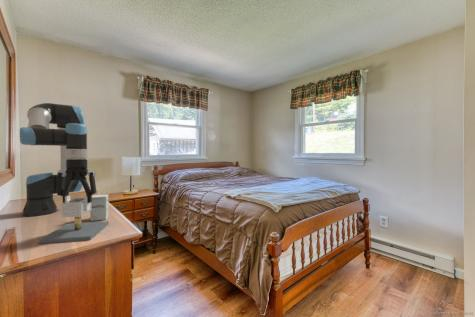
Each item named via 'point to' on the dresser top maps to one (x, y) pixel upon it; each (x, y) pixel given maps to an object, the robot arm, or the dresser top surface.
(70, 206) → the grey rectangular box
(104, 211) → the supplement box
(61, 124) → the robot arm
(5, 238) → the dresser top surface
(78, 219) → the peg
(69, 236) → the board
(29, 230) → the dresser top surface
